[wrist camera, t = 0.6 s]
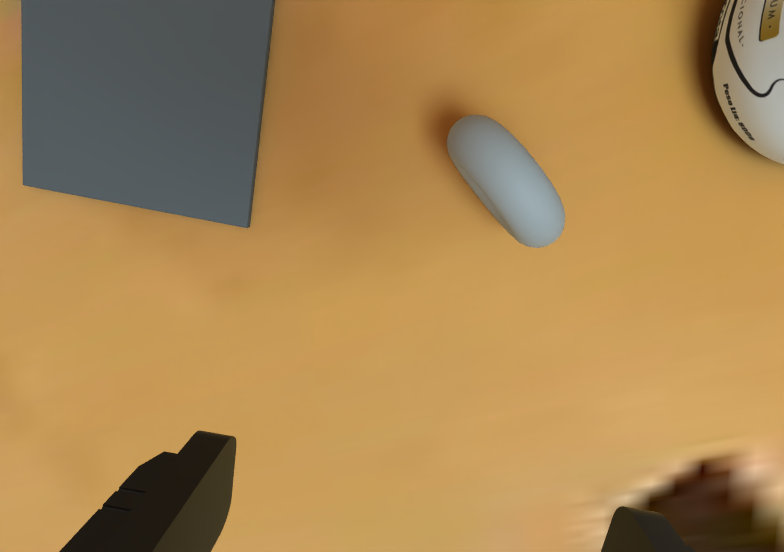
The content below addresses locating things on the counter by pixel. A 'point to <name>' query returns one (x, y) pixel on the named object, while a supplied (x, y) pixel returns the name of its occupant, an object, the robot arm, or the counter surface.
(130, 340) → the counter surface
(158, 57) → the mat
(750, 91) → the milk container
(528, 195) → the donut
